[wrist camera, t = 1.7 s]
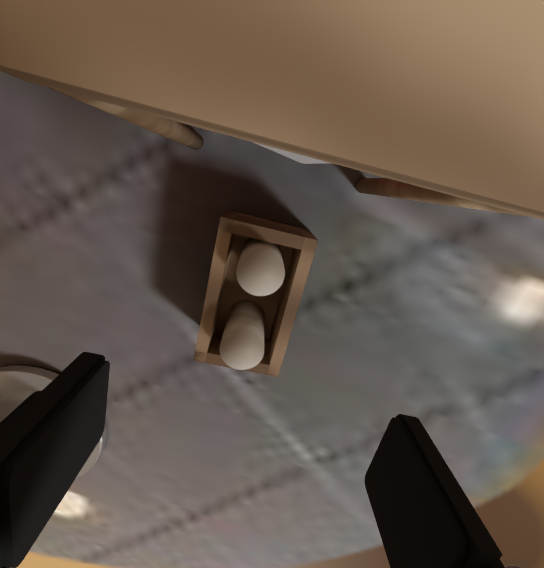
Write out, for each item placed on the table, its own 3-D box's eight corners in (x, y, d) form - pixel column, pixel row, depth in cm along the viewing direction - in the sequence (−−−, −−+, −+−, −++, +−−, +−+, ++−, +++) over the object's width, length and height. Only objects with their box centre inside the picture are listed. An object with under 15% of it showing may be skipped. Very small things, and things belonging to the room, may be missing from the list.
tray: (275, 344, 26) (278, 390, 20) (205, 330, 25) (188, 373, 20) (308, 229, 23) (322, 245, 17) (228, 209, 22) (216, 219, 17)
